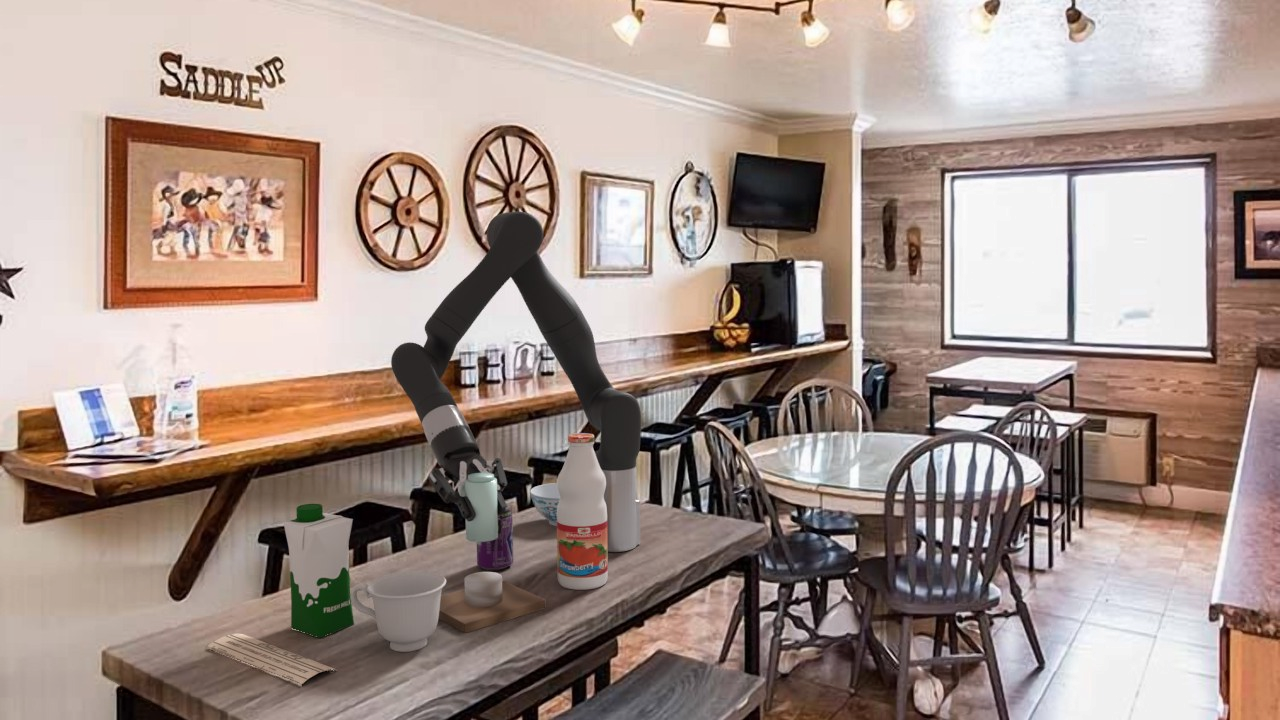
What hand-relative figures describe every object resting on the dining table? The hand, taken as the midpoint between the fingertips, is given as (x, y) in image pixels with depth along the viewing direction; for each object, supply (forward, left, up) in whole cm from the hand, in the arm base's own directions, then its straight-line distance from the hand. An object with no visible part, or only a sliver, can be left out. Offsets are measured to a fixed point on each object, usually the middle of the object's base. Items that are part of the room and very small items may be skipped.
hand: (487, 515), depth 156 cm
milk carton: (+24, -13, -17) cm, 32 cm away
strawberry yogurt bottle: (-21, -1, -17) cm, 27 cm away
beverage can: (-14, -20, -17) cm, 30 cm away
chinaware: (-43, -36, -17) cm, 58 cm away
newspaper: (+35, -6, -18) cm, 39 cm away
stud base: (0, -2, -17) cm, 17 cm away
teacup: (+18, +2, -17) cm, 25 cm away
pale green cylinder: (0, -2, -4) cm, 5 cm away
